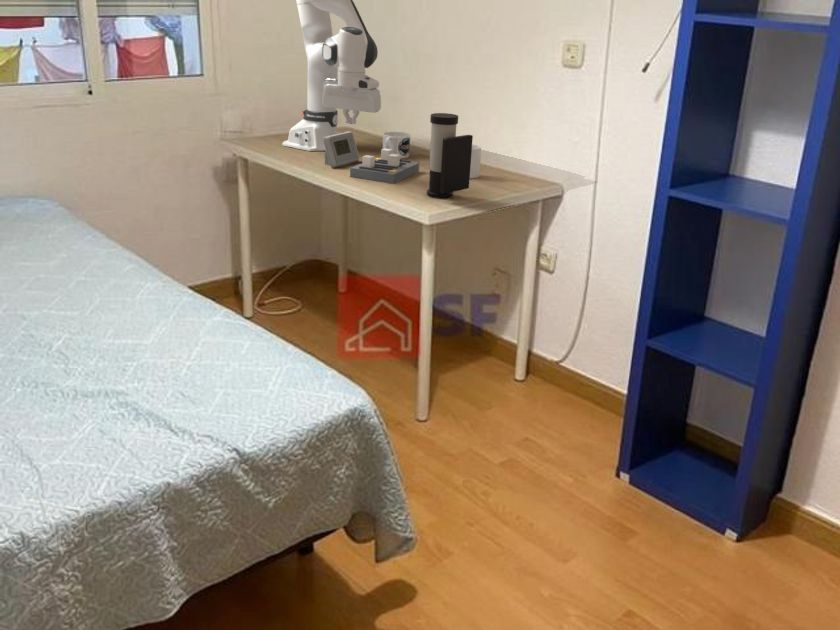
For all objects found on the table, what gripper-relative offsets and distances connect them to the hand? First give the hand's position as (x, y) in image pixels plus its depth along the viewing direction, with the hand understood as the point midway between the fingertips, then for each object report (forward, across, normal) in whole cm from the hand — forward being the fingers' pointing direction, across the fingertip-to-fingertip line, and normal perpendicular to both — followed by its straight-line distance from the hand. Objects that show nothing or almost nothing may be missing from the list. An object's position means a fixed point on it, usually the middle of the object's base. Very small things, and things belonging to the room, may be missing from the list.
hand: (350, 123), depth 270 cm
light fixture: (+17, +38, -9) cm, 43 cm away
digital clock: (+17, -10, +12) cm, 23 cm away
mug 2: (+17, +33, +22) cm, 43 cm away
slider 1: (+14, +7, 0) cm, 15 cm away
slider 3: (+14, +13, +7) cm, 20 cm away
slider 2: (+14, +7, +14) cm, 21 cm away
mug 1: (+17, 0, +36) cm, 40 cm away
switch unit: (+17, +10, +7) cm, 21 cm away
